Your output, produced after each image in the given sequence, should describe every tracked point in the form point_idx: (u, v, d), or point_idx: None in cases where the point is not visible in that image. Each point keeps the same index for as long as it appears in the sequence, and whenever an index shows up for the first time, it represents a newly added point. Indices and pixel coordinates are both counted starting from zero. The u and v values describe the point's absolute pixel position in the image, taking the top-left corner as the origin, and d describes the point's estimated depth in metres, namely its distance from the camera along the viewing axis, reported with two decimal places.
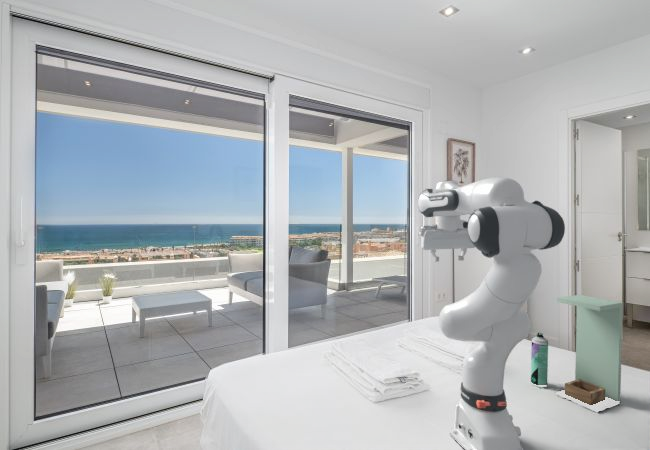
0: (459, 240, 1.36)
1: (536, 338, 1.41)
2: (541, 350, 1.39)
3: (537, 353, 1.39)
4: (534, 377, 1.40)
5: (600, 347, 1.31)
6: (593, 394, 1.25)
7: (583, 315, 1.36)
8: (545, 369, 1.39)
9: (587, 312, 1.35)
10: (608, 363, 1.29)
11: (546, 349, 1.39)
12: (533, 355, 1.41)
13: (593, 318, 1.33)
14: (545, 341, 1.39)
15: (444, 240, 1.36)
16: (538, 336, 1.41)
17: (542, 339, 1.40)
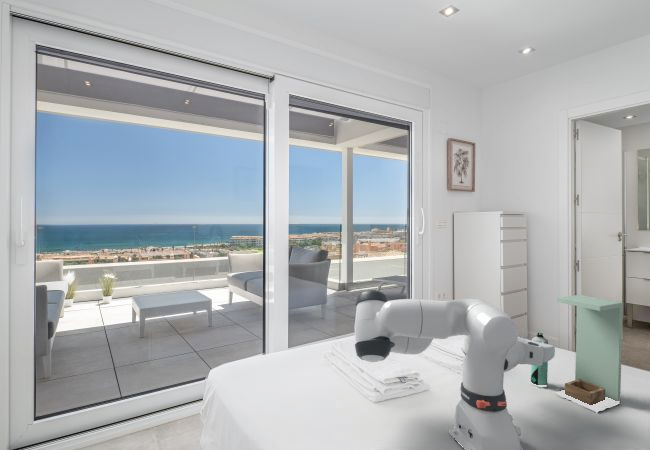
0: None
1: (536, 338, 1.41)
2: None
3: None
4: (534, 377, 1.40)
5: (600, 347, 1.31)
6: (593, 394, 1.25)
7: (583, 315, 1.36)
8: (545, 369, 1.39)
9: (587, 312, 1.35)
10: (608, 363, 1.29)
11: None
12: None
13: (593, 318, 1.33)
14: (545, 341, 1.39)
15: None
16: (538, 336, 1.41)
17: (542, 339, 1.40)
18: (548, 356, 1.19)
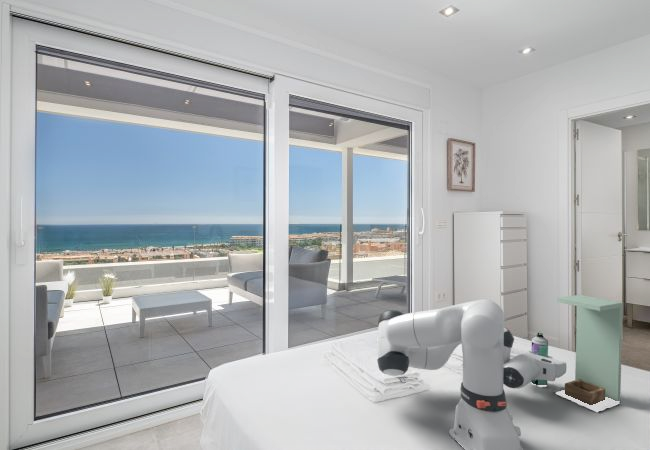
0: None
1: (536, 338, 1.41)
2: (541, 350, 1.39)
3: (537, 353, 1.39)
4: None
5: (600, 347, 1.31)
6: (593, 394, 1.25)
7: (583, 315, 1.36)
8: None
9: (587, 312, 1.35)
10: (608, 363, 1.29)
11: (546, 349, 1.39)
12: None
13: (593, 318, 1.33)
14: (545, 341, 1.39)
15: None
16: (538, 336, 1.41)
17: (542, 339, 1.40)
18: (560, 372, 1.28)
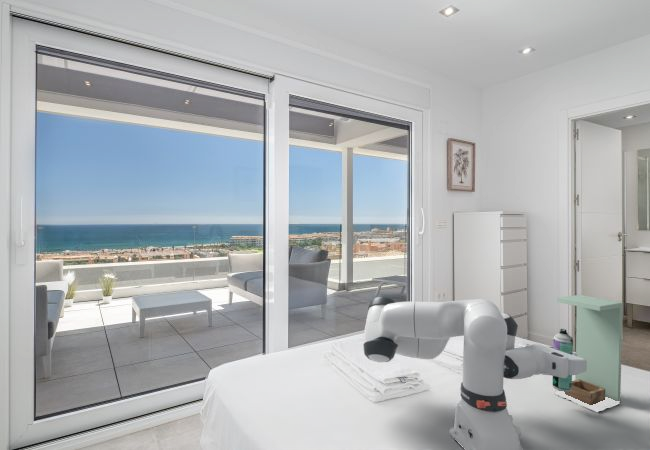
0: None
1: (558, 334, 1.24)
2: (562, 349, 1.22)
3: None
4: (554, 378, 1.24)
5: (600, 347, 1.31)
6: (593, 394, 1.25)
7: (583, 315, 1.36)
8: None
9: (587, 312, 1.35)
10: (608, 363, 1.29)
11: (569, 347, 1.21)
12: None
13: (593, 318, 1.33)
14: (568, 338, 1.22)
15: None
16: (560, 332, 1.24)
17: (564, 336, 1.22)
18: (576, 369, 1.11)
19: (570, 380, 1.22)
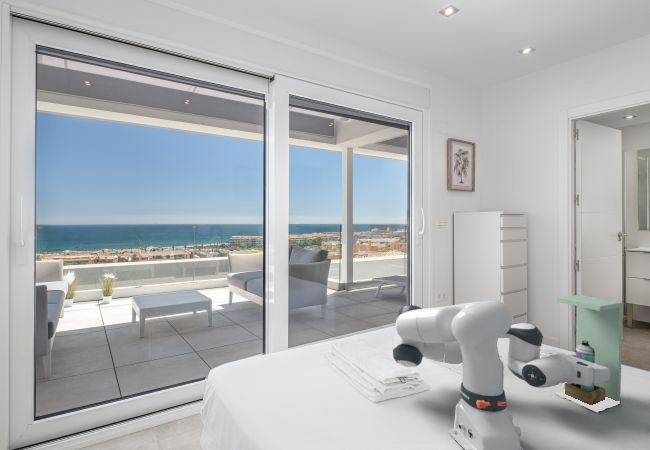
0: None
1: (580, 346, 1.30)
2: None
3: None
4: None
5: (600, 347, 1.31)
6: (593, 394, 1.25)
7: (583, 315, 1.36)
8: None
9: (587, 312, 1.35)
10: (608, 363, 1.29)
11: (591, 358, 1.27)
12: None
13: (593, 318, 1.33)
14: (590, 350, 1.27)
15: None
16: (582, 344, 1.29)
17: (586, 347, 1.28)
18: (600, 378, 1.17)
19: (592, 390, 1.27)
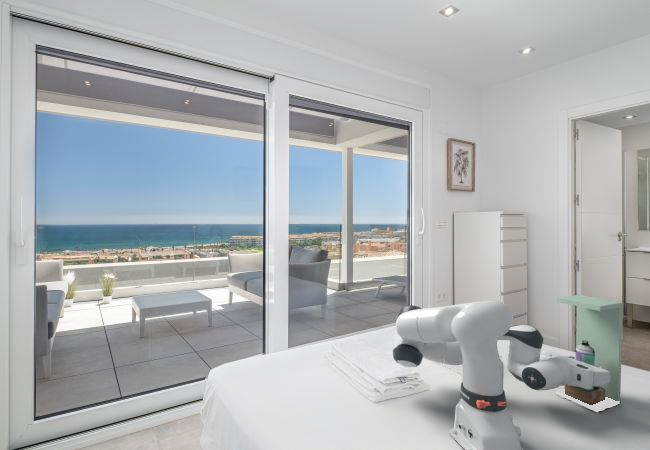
0: None
1: (580, 346, 1.30)
2: (584, 360, 1.28)
3: None
4: None
5: (600, 347, 1.31)
6: (593, 394, 1.25)
7: (583, 315, 1.36)
8: None
9: (587, 312, 1.35)
10: (608, 363, 1.29)
11: (591, 358, 1.27)
12: None
13: (593, 318, 1.33)
14: (590, 350, 1.27)
15: None
16: (582, 344, 1.29)
17: (586, 347, 1.28)
18: (600, 381, 1.17)
19: (592, 390, 1.27)
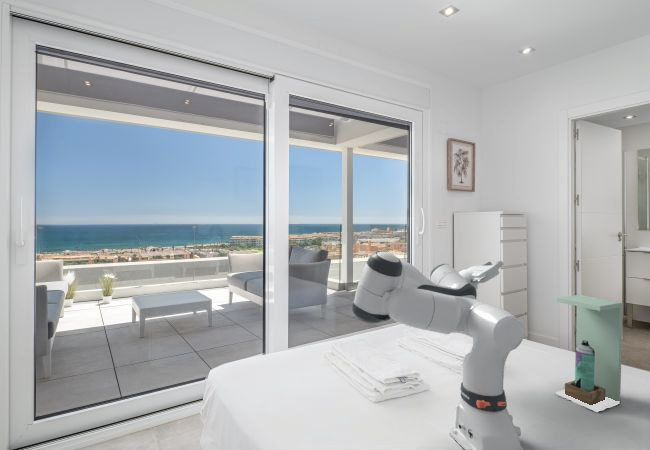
0: (473, 269, 1.46)
1: (580, 346, 1.30)
2: (584, 360, 1.28)
3: (580, 362, 1.28)
4: None
5: (600, 347, 1.31)
6: (593, 394, 1.25)
7: (583, 315, 1.36)
8: (589, 380, 1.27)
9: (587, 312, 1.35)
10: (608, 363, 1.29)
11: (591, 358, 1.27)
12: (576, 364, 1.30)
13: (593, 318, 1.33)
14: (590, 350, 1.27)
15: (478, 269, 1.40)
16: (582, 344, 1.29)
17: (586, 347, 1.28)
18: None
19: (592, 390, 1.27)
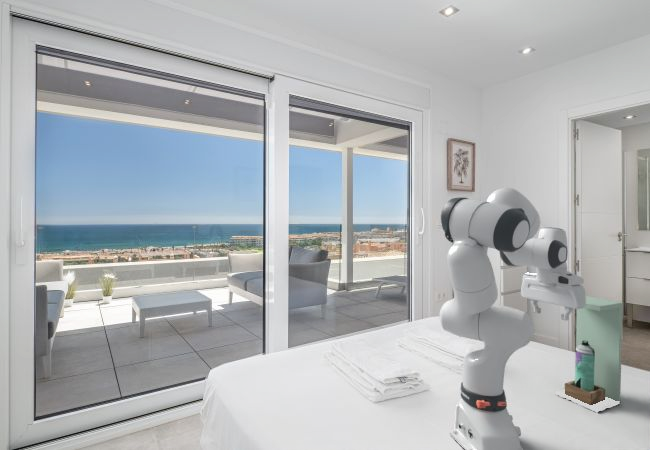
0: (558, 296, 1.20)
1: (580, 346, 1.30)
2: (584, 360, 1.28)
3: (580, 362, 1.28)
4: None
5: (600, 347, 1.31)
6: (593, 394, 1.25)
7: (583, 315, 1.36)
8: (589, 380, 1.27)
9: (587, 312, 1.35)
10: (608, 363, 1.29)
11: (591, 358, 1.27)
12: (576, 364, 1.30)
13: (593, 318, 1.33)
14: (590, 350, 1.27)
15: (542, 292, 1.25)
16: (582, 344, 1.29)
17: (586, 347, 1.28)
18: (580, 291, 1.15)
19: (592, 390, 1.27)
